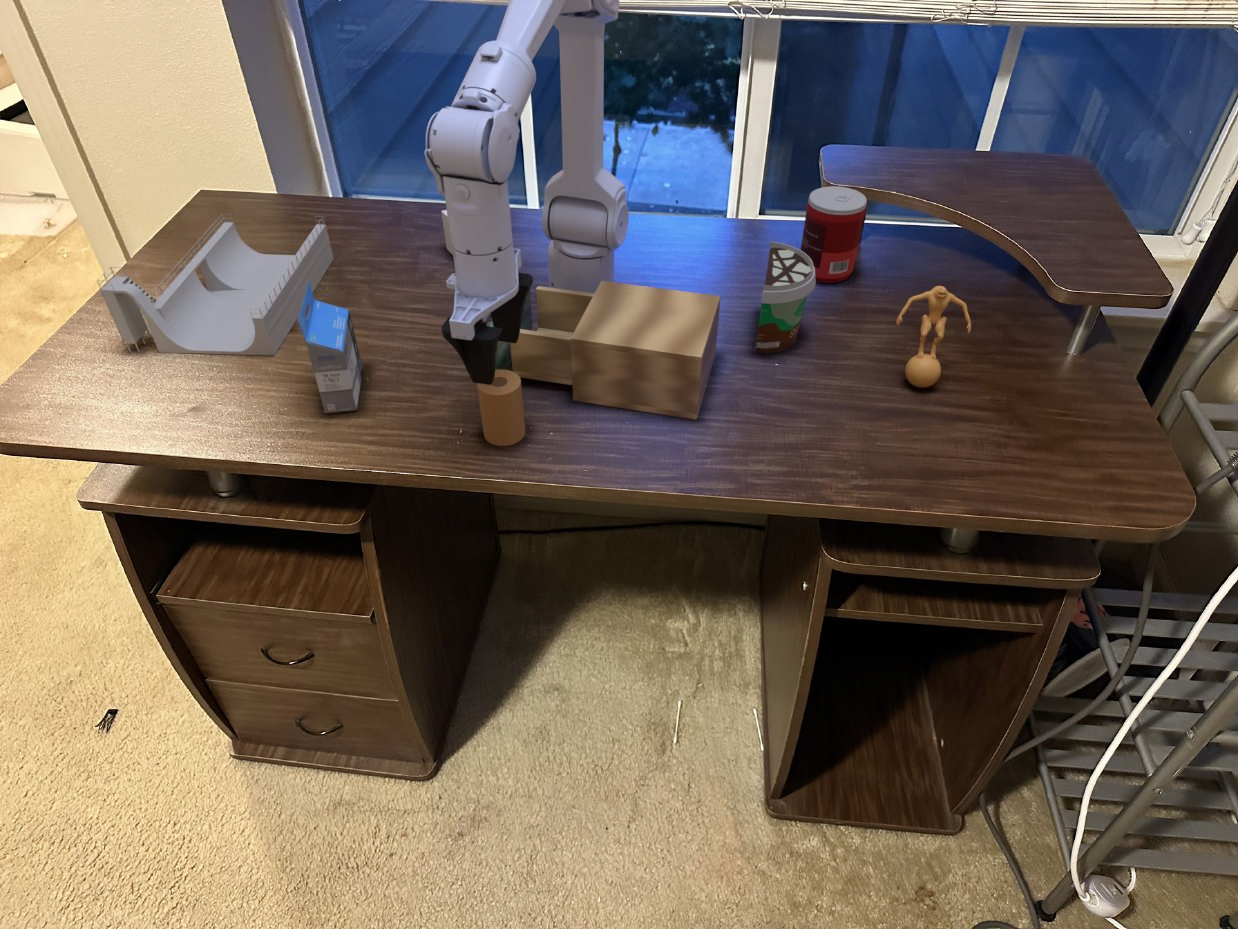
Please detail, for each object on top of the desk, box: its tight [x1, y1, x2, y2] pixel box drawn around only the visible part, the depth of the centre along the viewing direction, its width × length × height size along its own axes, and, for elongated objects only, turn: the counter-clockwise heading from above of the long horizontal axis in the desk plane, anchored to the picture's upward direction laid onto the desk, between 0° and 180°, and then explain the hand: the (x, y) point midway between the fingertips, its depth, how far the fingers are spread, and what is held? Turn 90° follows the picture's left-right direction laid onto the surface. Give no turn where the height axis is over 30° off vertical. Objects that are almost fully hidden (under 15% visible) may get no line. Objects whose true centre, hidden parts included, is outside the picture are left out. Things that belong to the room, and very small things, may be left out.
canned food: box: [800, 185, 868, 284], centre depth 119 cm, size 8×8×11 cm
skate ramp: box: [96, 213, 335, 356], centre depth 112 cm, size 25×19×10 cm
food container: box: [754, 241, 817, 354], centre depth 107 cm, size 12×6×10 cm, turn 168°
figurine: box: [895, 285, 972, 389], centre depth 99 cm, size 8×6×12 cm
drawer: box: [483, 285, 595, 386], centre depth 102 cm, size 18×12×7 cm
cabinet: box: [571, 281, 722, 420], centre depth 100 cm, size 15×13×9 cm
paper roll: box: [476, 369, 526, 447], centre depth 93 cm, size 5×5×7 cm
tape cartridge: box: [297, 281, 364, 415], centre depth 97 cm, size 9×4×12 cm, turn 9°
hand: (495, 360), depth 89 cm, fingers open, 7 cm apart
